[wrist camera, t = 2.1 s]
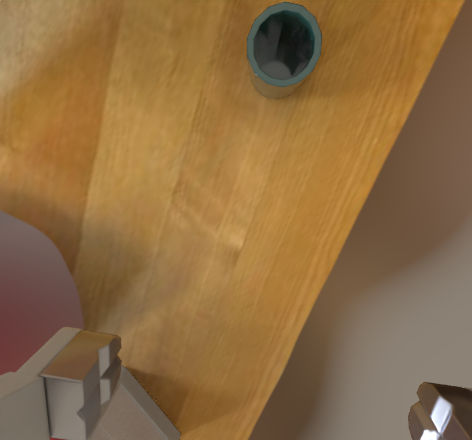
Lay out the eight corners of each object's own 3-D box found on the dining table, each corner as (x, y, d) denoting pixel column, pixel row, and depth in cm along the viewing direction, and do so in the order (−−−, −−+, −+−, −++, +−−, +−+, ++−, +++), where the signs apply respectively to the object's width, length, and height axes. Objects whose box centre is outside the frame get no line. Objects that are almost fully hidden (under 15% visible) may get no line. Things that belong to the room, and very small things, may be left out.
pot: (238, 67, 30) (231, 42, 22) (283, 26, 29) (292, -18, 21) (271, 111, 31) (276, 102, 23) (315, 73, 30) (337, 49, 22)
